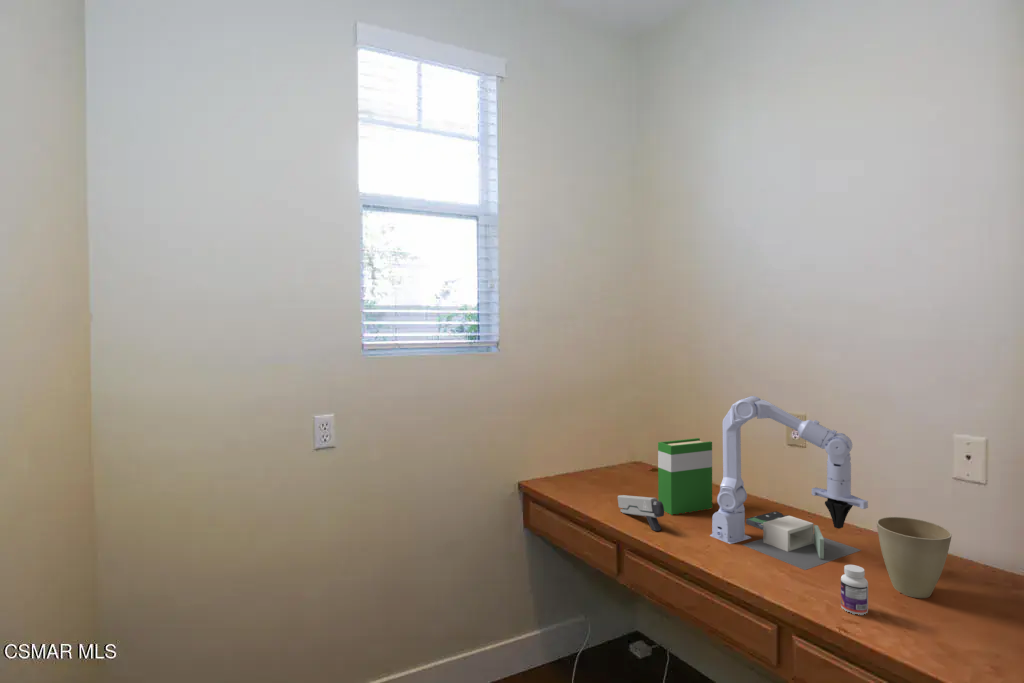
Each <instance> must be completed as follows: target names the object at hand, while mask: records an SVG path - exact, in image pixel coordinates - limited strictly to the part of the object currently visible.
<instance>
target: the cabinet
mask: <svg viewBox="0 0 1024 683" xmlns="http://www.w3.org/2000/svg"><path fill="white" fill-rule="evenodd" d="M814 525H815V524H814V522H810V521H808V520H804V519H801V518H799V517H795V516H792V515H789V516H785V517H782V518H778V519H774V520H771V521H767V522H763V530H762V532H763V533H762V534H763V538H762V539H763V542H764V543H767V544H769V545H772V546H774V547H777V548H780V549H782V550H785V551H791V550H794V549H797V548H800V547H803V546H807V545H810V544H813V543H814Z"/></svg>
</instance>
